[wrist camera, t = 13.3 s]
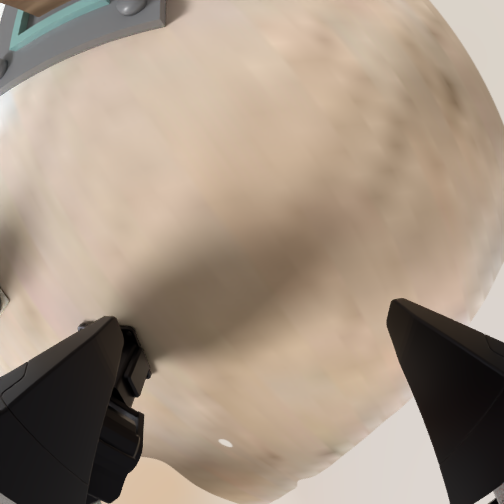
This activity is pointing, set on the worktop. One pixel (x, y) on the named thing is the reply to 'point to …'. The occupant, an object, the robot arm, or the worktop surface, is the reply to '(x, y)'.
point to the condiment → (3, 301)
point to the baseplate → (68, 33)
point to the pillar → (35, 5)
